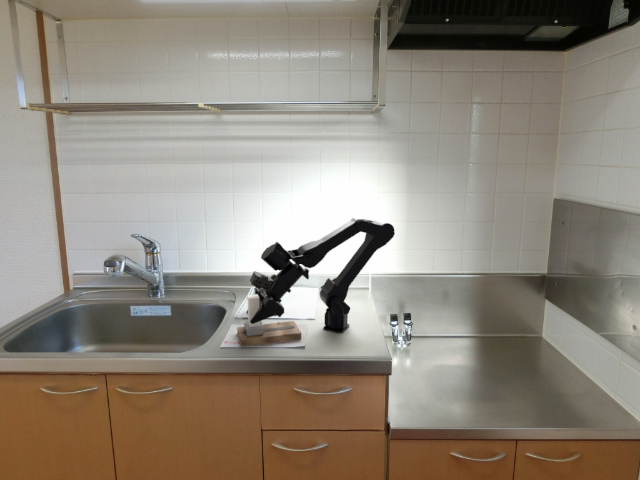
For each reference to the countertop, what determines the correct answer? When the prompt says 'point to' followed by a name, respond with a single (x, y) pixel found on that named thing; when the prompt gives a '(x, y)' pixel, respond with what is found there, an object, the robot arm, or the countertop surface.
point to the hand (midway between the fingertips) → (249, 318)
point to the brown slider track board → (271, 334)
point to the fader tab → (252, 309)
